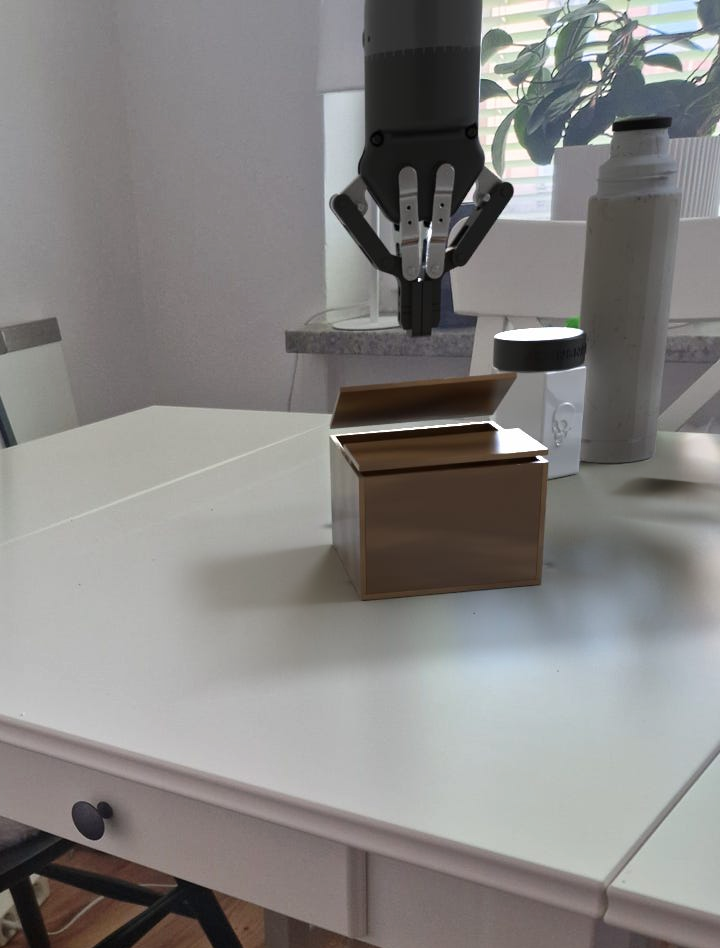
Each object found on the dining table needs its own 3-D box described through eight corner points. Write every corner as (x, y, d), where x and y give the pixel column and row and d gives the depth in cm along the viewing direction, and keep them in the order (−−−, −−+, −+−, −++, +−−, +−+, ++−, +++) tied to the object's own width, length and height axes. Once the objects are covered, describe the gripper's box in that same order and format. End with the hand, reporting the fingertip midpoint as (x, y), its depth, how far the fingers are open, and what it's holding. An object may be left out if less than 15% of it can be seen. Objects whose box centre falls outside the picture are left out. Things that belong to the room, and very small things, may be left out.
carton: (332, 543, 94) (328, 424, 90) (488, 529, 94) (493, 410, 90) (360, 600, 81) (358, 466, 77) (541, 584, 82) (549, 449, 77)
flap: (329, 429, 90) (329, 424, 90) (492, 415, 90) (492, 410, 90) (340, 392, 82) (339, 387, 82) (517, 377, 83) (516, 371, 83)
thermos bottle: (556, 450, 117) (578, 122, 103) (631, 442, 118) (663, 116, 103) (590, 466, 110) (618, 118, 96) (669, 457, 111) (709, 111, 97)
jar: (521, 486, 105) (528, 344, 99) (467, 471, 112) (471, 336, 106) (598, 470, 109) (610, 331, 102) (542, 456, 115) (550, 324, 109)
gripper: (328, 48, 72) (335, 350, 81) (539, 33, 72) (523, 335, 81) (313, 59, 78) (321, 337, 87) (507, 44, 79) (495, 323, 87)
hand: (419, 336), depth 84 cm, fingers closed
